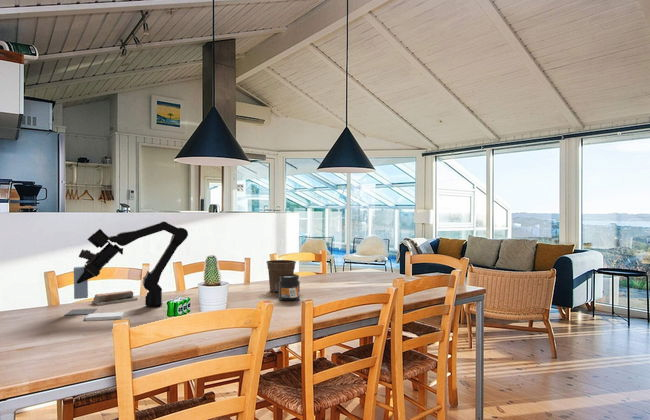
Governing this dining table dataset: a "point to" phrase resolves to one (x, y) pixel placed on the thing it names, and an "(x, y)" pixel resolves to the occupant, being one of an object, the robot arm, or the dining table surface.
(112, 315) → the strip
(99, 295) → the packaged product
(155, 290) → the robot arm
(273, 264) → the plant pot
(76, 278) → the stub
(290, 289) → the supplement container
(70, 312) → the coaster
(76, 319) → the dining table surface
